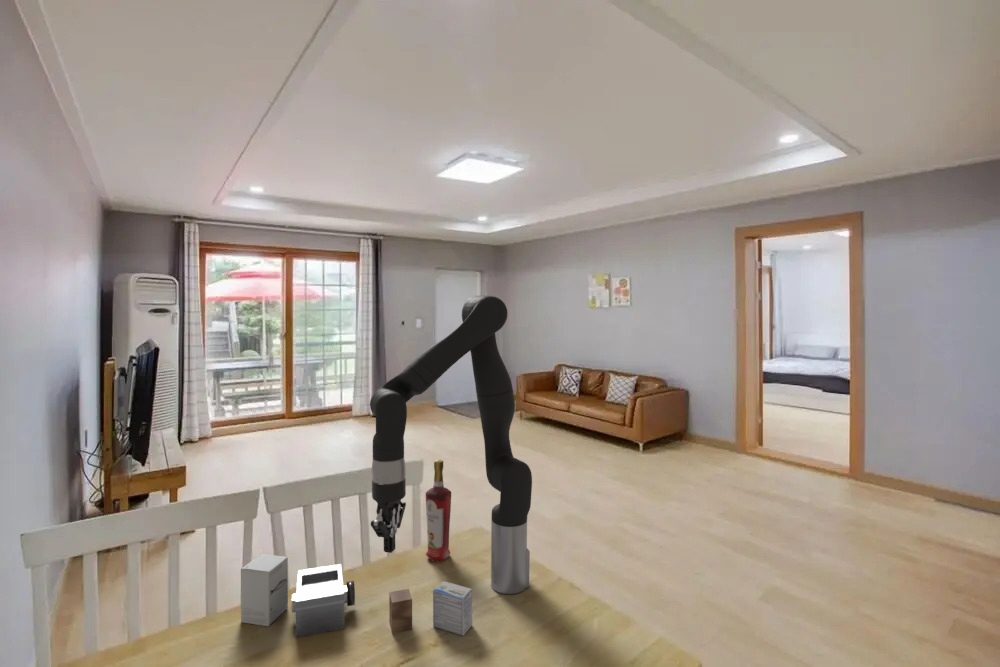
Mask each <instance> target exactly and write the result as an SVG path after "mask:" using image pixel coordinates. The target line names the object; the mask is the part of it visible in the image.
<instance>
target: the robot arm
mask: <svg viewBox="0 0 1000 667" xmlns="http://www.w3.org/2000/svg"><path fill="white" fill-rule="evenodd" d="M461 318H462V323H461V324H459V326H458V327H456V328H455V329H454V330H453V331H452V332H451V333H449V334H448V335H446V336H445V337H444V338H443V339H441V340H439V341H437V342H435V343H434V344H433V345H431V346H430V347H428V348H427V349H425V350H424V351H423V352H421V353H420V354H419V355H418V356H416V358H415V359H414V360H413V361H411V362H410V363H409V365H407V366H406V367H405V368H404V369H403V370H402V371H401V372H400V373H398V374H397V375H395V376H394V377H393V378H391V379H389V381H387V382H385V383H384V384H382V386H380V387H379V388H378V389H377V390H376V391H375V392H374V393H373V395H372V396H371V398H370V399H369V400H370V401H369V407H370V411H371V413H372V414H373V415H374V416H375V434H374V435H373V438H372V462H371V497H372V499H373V501H375V502H376V503H377V507H376V510H375V511H376V518H375V520H374V519H372V520H371V521H370V526H371V528H372V529H373V531H374V532H375V534H376V537H377V538H378V537H379V538H383V552H384V553H389V554H392V553H393V552H394V551H395V550H396V535H397V533H398V529H400V528H401V525H402V522H403V521H402V520H403V517H404V514H405V510H406V506H407V502H403V501H402V500H403V499H404V498H405V496H406V492H407V491H406V488H407V487H406V481H407V480H406V460H405V439H404V437H405V432H406V426H407V417H408V416H407V414H408V407H407V402H408V401H410V400H412V398H413V397H415V396H419V395H420V396H421V395H422V394H423V393H425V392H426V391H427V390H428V389H430V387H431V386H432V385H434V383H436V382H437V381H438V380H439V379H440V378H441V377H442V376H443V375H444V373H446V372H447V371H448V370H449V369H450V368H451V367H452V366H453V365H455V364H456V363H457V362H458V361H459V360H460V359H461V358H463V357H464V356H465V355H467V354H468V353H469V352H470V356H471V363H472V364H471V365H472V371H473V378H474V384H475V385H474V386H475V393H476V394H475V395H476V399H477V406H478V410H479V415H480V422H481V429H482V436H483V440H484V441H483V443H484V455H485V456H484V458H485V473H486V478H487V481H488V483H489V485H490V486H491V487H492V488H493V489H495V490H497V491H498V492H500V493H499V494H500V497H499V499H500V500H499V503H498V504H495V505H494V507H492V509H491V527H490V528H491V530H490V531H491V533H490V534H491V538H490V540H491V541H490V542H491V545H490V547H491V548H490V587H491V588H492V589H493V590H494V591H495V592H498V593H500V594H503V595H514V594H519V593H522V592H523V591H524V590H526V589H529V588H530V568H531V567H530V565H531V564H530V563H531V562H530V561H531V560H530V557H531V553H530V550H529V549H528V515H529V513H530V510H531V506H532V505H531V504H532V488H533V475H532V470H531V468H530V466H529V465H528V464H527V463H526V462H524V461H523V460H521V459H519V458H516V457H514V455H513V451H512V446H511V441H510V430H511V425H512V422H513V418H514V415H515V409H516V405H515V402H516V401H515V396H514V390H513V389H514V388H513V382H512V380H511V376H510V374H509V372H508V369H507V367H506V365H505V362H504V361H503V359H502V356H501V354H500V351H499V349H498V344H497V337H496V333H497V332H499V330H501V329H502V328H503V327H504V325H505V324H506V323H507V322H506V321H507V319H508V308H507V306H506V304H505V302H504V301H503V300H502V299H500V298H499V297H497V296H493V295H473V296H471V297H469V298H468V299H467V300H466V301H465V302H464V304H463V306H462V310H461Z"/></svg>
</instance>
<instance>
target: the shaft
mask: <svg viewBox="0 0 1000 667" xmlns="http://www.w3.org/2000/svg"><path fill="white" fill-rule="evenodd" d="M343 587H344V605H345V604H346V605H347V607H351V606H355V605H356V592H355V591H356V590H355V588H356V587H355V580H350V581H346V585H343ZM291 613H296V593H293V594H291Z"/></svg>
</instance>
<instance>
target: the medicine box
mask: <svg viewBox="0 0 1000 667" xmlns="http://www.w3.org/2000/svg"><path fill="white" fill-rule="evenodd" d="M432 614H433V615H432V626H433V627H434V628H438V629H441V630H443V631H447V632H449V633H450V632H451V633H453V634H457V635H460V636H465V634H466V633H468V630H470V628H471V627H472V625H473V589H472V588H470V587H466V586H462V585H459V584H455V583H452V582H447V581H444V580H443V581H441V583H439V584H438V585H437V586H436V587H435V588H434V589H433V590H432Z"/></svg>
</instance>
